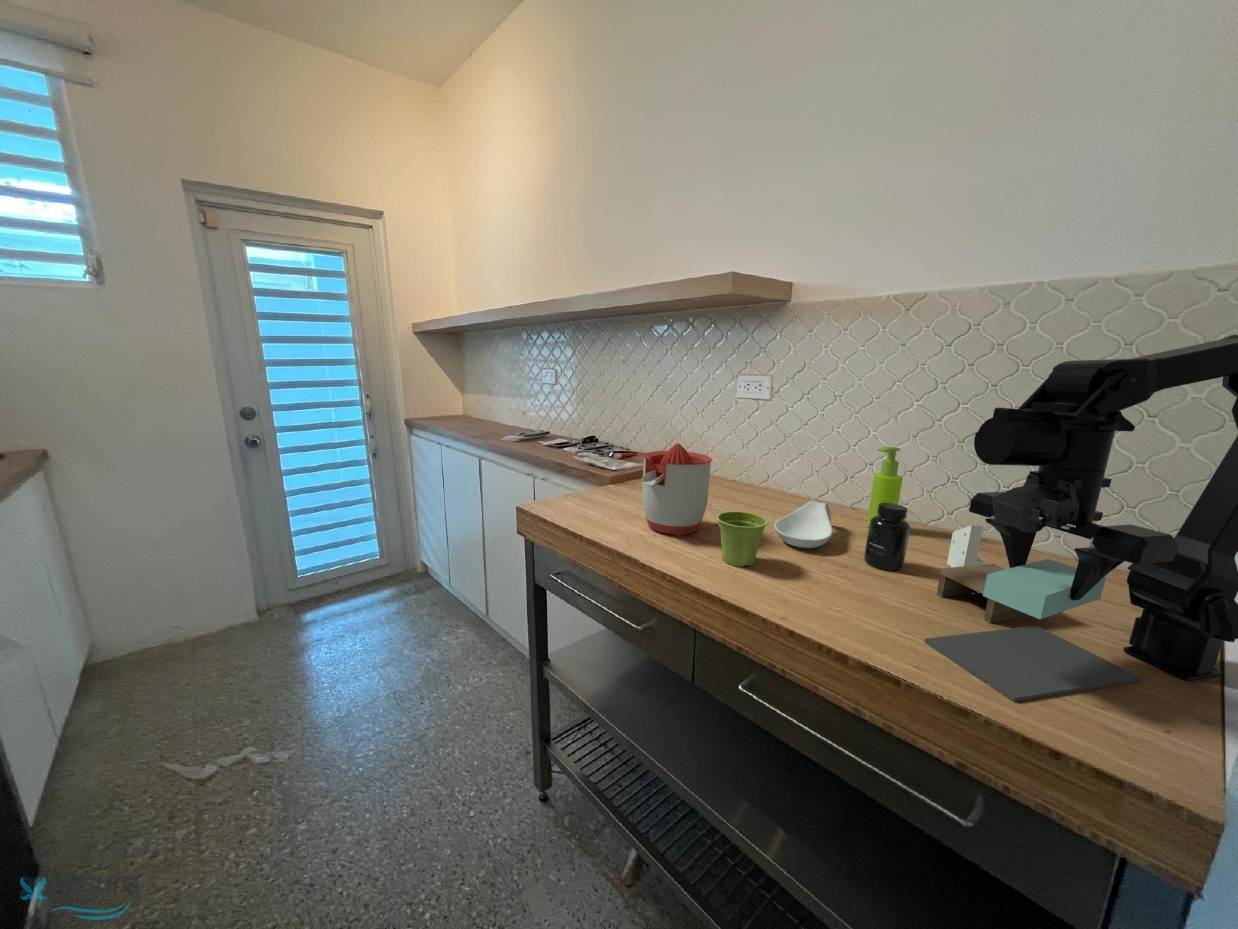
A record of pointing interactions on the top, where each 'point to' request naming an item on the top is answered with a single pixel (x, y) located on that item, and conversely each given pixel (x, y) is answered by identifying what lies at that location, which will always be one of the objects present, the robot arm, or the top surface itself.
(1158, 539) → the robot arm
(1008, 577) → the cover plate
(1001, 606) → the sleeve box
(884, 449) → the soap dispenser
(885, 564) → the supplement bottle
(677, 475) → the citrus juicer
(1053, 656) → the rubber mat
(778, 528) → the spoon rest
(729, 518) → the plant pot
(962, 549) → the white wedge bracket
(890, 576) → the top surface
